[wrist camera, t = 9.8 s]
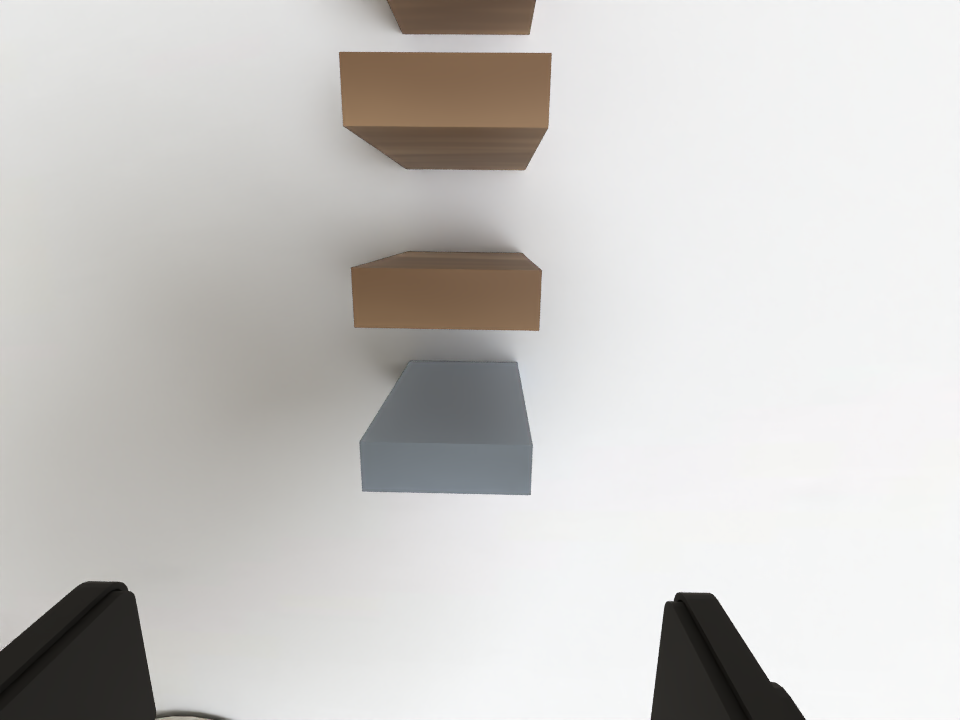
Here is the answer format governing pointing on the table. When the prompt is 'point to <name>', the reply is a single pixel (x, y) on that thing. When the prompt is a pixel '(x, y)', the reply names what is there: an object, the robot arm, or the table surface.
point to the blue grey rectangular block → (450, 432)
